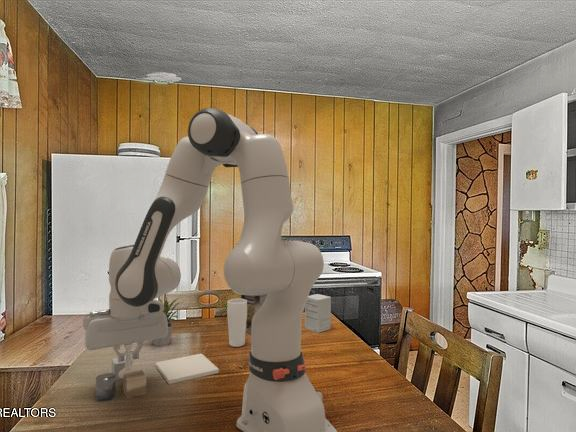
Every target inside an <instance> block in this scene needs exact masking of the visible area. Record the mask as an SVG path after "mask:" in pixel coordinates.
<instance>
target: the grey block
mask: <svg viewBox="0 0 576 432" xmlns="http://www.w3.org/2000/svg"><path fill="white" fill-rule="evenodd" d="M124 359H125V361H123V362H118V357H115V358H111V373H113V374H115V375H116V381H120V380H124V378H120V377H119V376H118V375H119V371H121V370H123V369H124V368H125V363H126V355H125V358H124ZM131 364H132V365H133V359H131Z"/></svg>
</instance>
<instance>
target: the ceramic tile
mask: <svg viewBox="0 0 576 432" xmlns="http://www.w3.org/2000/svg"><path fill="white" fill-rule="evenodd" d="M155 367H156V369H157V370H158V371H159V373H160V374H161V376H162V378H164V380H165V381H166V383H167V384H168V385H173V384H176V383H179V382H184V381H189V380H193V379H197V378H198V379H199V378H202V377H206V376H207V377H208V376H211V375H215V374H219V372H220V370H219V368H218V367H217V366H216V365H215V364H214V363H213V362H212V361H211V360H210V359H209V358H208V357H206V356H205V355H204V354H203V353H196V354H192V355H188V356H183V357H176V358H172V359H167V360H162V361H157V362H155Z"/></svg>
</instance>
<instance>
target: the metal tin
mask: <svg viewBox="0 0 576 432" xmlns="http://www.w3.org/2000/svg"><path fill="white" fill-rule="evenodd" d="M116 381H117V380H116V375H115V374H113V373H112V372H107V373H102V374H99V375H98V376H96V377H95V400H96V401H97V402H101V403H103V402H109V401H111V400H113V399H115V398H116V397H117V394H116V393H117V386H116V385H117V384H116V383H117V382H116Z"/></svg>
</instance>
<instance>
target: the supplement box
mask: <svg viewBox="0 0 576 432" xmlns="http://www.w3.org/2000/svg"><path fill="white" fill-rule="evenodd" d="M331 328H332V297H331V296H328V295H324V294H320V293H316V294H315V293H314V294H311V295H310V294H309V295H308V298H307V301H306V304H305V307H304V329H305V330H308V331H311V332H314V333H317V334H319V333H323V332H325V331H328V330H331Z"/></svg>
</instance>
